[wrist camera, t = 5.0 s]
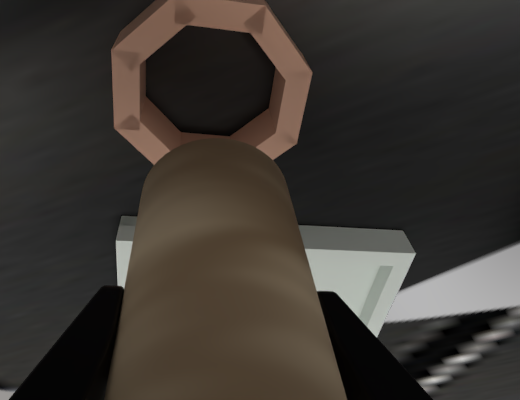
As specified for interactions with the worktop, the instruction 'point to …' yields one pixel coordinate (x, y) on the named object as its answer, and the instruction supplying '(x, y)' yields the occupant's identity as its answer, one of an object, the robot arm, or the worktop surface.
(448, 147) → the worktop surface
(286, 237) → the dowel
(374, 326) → the tray
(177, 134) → the cup ring
